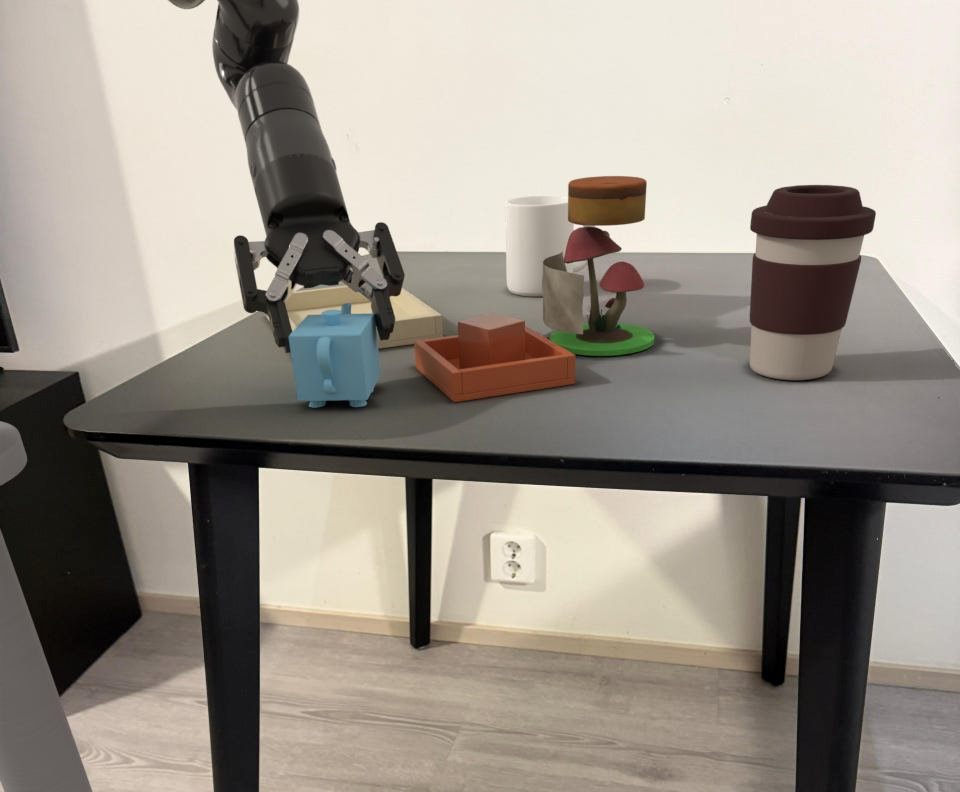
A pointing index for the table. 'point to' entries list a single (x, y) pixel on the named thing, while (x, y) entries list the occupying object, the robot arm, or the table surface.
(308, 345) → the teapot
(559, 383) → the terracotta tray
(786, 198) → the coffee cup
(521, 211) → the mug
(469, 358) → the clay block
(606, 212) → the mushroom figurine
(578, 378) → the table surface
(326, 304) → the cream tray
